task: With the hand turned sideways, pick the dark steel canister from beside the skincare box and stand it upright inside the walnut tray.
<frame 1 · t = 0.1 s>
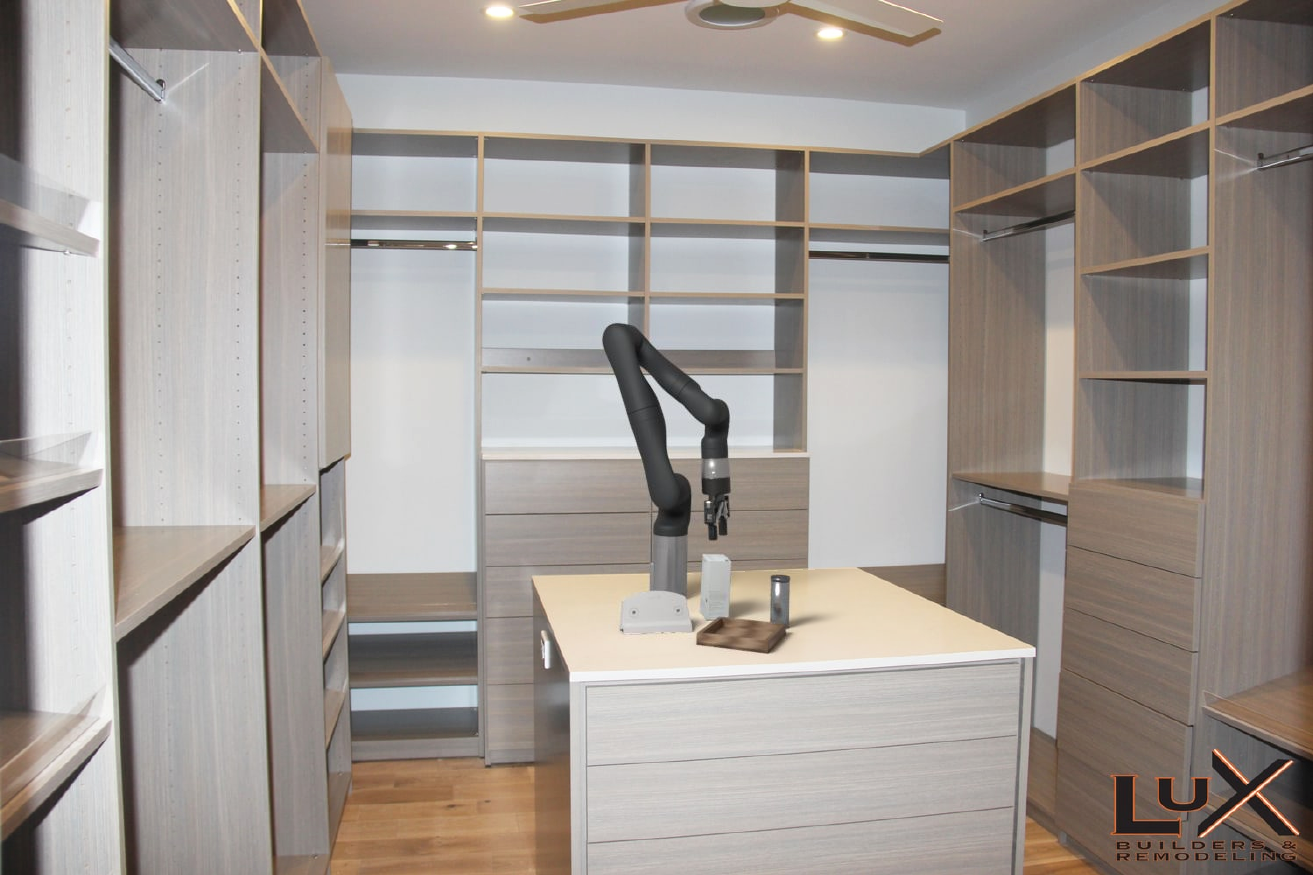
hand: (718, 537, 235), 17 cm above the table, tool pointing down, fingers open, 8 cm apart
skincare box: (714, 617, 223), on the table
walnut tray: (742, 639, 202), on the table
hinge: (655, 630, 210), on the table
steel canister: (779, 626, 213), on the table
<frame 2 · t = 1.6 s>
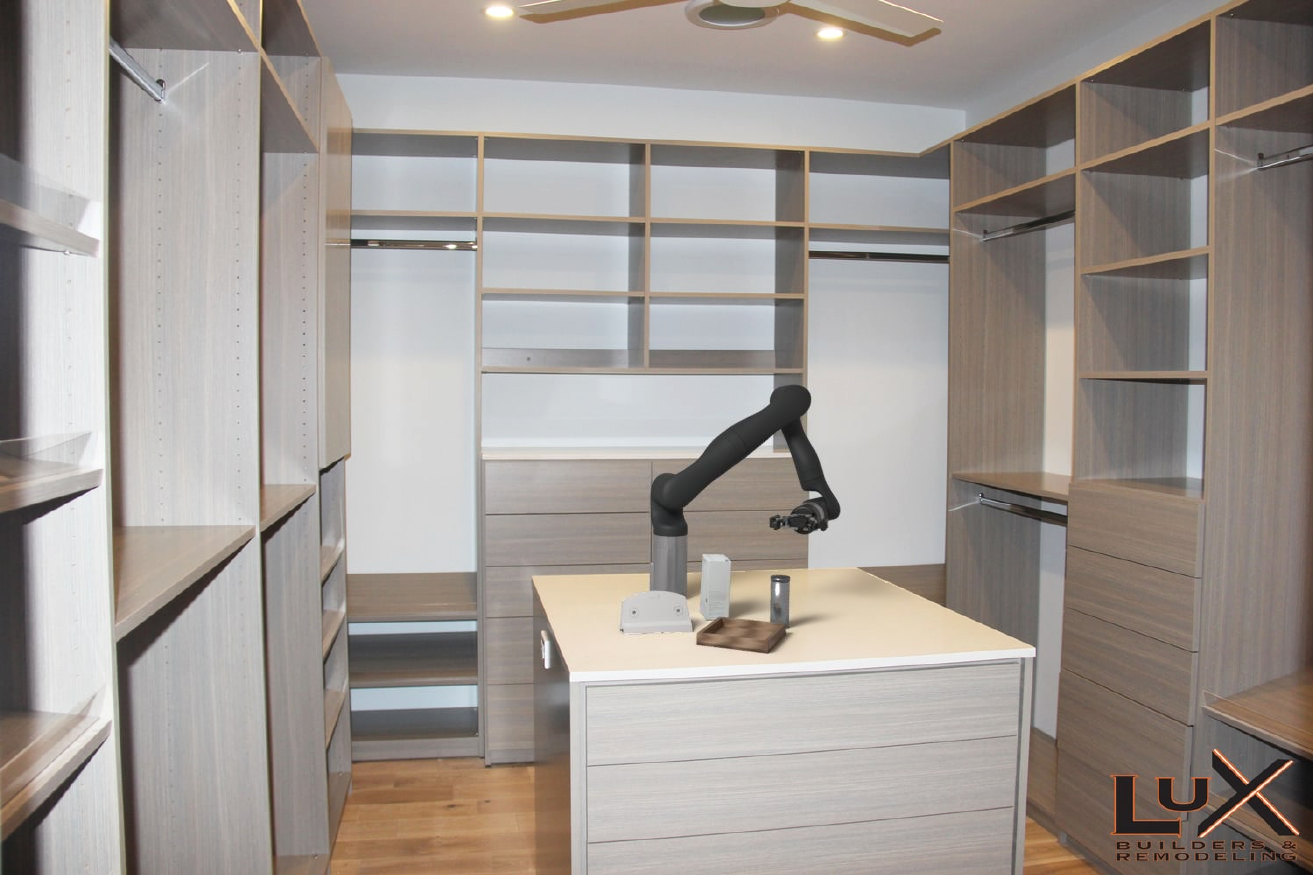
hand: (792, 527, 222), 22 cm above the table, tool horizontal, fingers open, 8 cm apart
nothing on the table moved.
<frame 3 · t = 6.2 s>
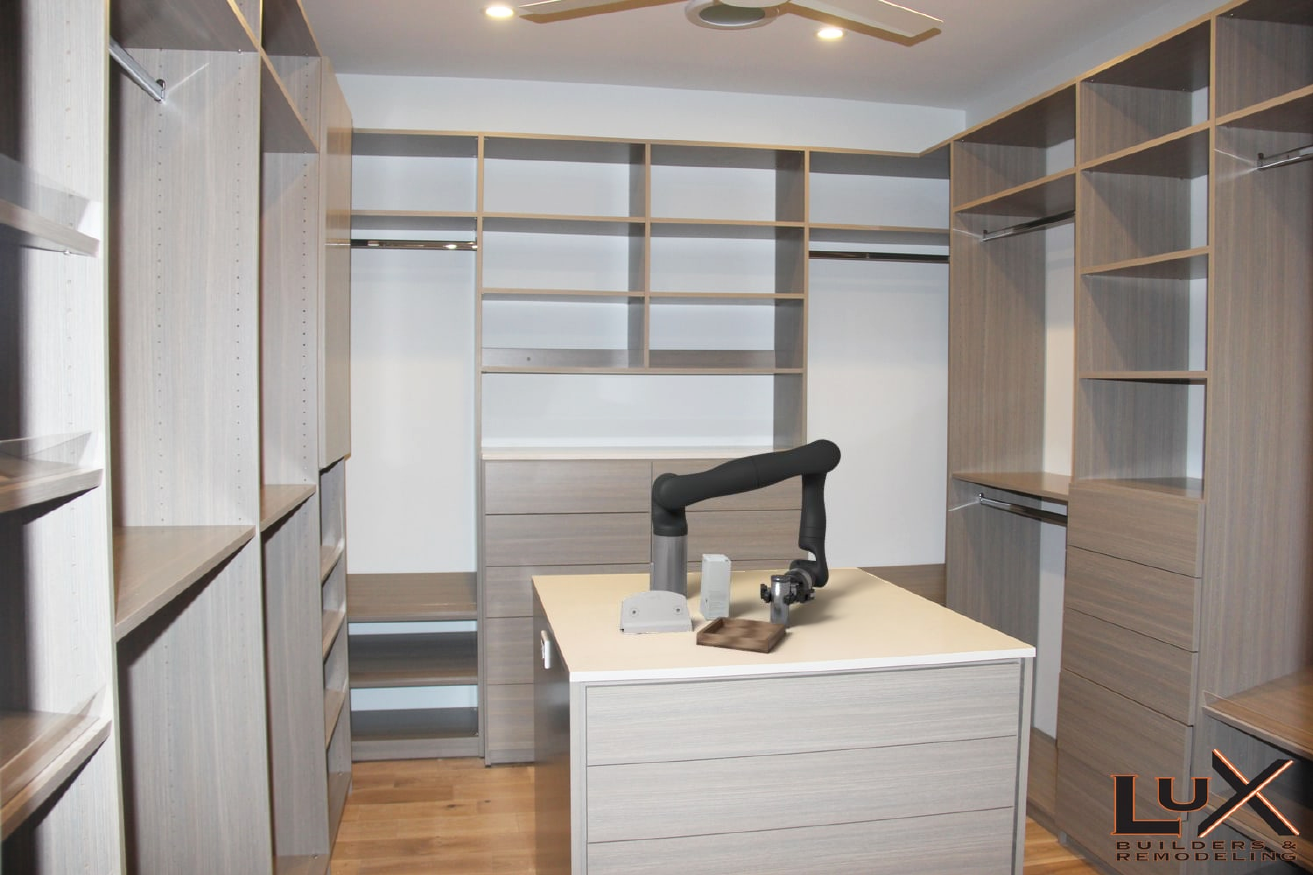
hand: (777, 599, 211), 7 cm above the table, tool horizontal, fingers closed on steel canister, 4 cm apart
steel canister: (779, 626, 213), on the table, touching gripper
everything else where it was.
when the fingers open (9 cm above the table, at t = 12.7 s): steel canister drops 1 cm, resting on walnut tray.
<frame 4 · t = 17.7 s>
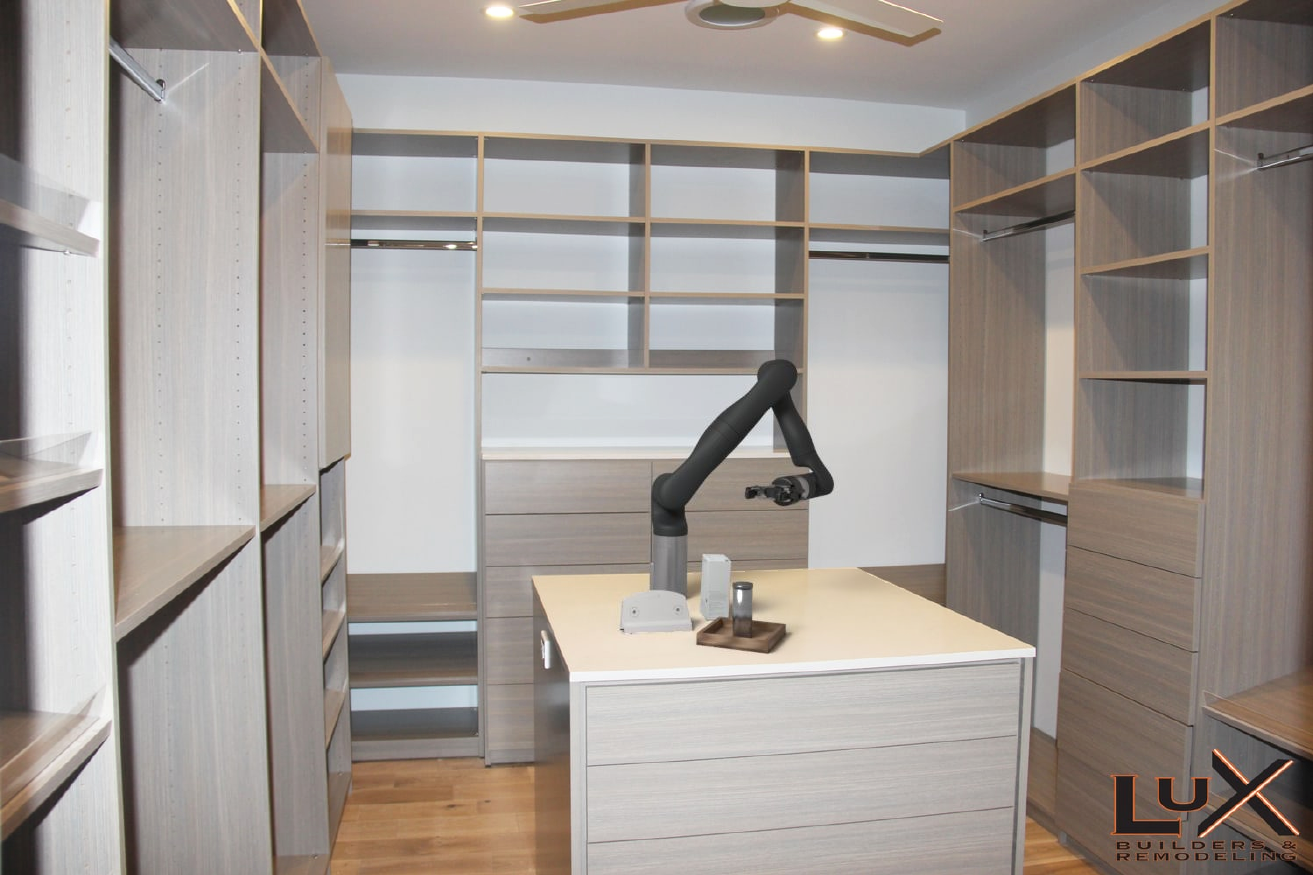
hand: (762, 496, 220), 30 cm above the table, tool horizontal, fingers open, 8 cm apart
steel canister: (742, 636, 202), point 1 cm above the table, touching walnut tray
everything else where it was.
at the end: steel canister inside the target area on the walnut tray (0.1 cm from its centre), point 0.6 cm above the walnut tray's base; steel canister tilted 0°; the gripper is holding nothing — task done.
